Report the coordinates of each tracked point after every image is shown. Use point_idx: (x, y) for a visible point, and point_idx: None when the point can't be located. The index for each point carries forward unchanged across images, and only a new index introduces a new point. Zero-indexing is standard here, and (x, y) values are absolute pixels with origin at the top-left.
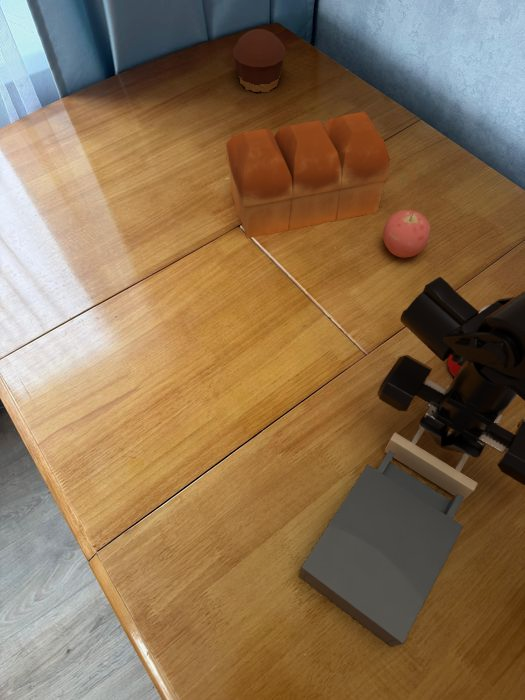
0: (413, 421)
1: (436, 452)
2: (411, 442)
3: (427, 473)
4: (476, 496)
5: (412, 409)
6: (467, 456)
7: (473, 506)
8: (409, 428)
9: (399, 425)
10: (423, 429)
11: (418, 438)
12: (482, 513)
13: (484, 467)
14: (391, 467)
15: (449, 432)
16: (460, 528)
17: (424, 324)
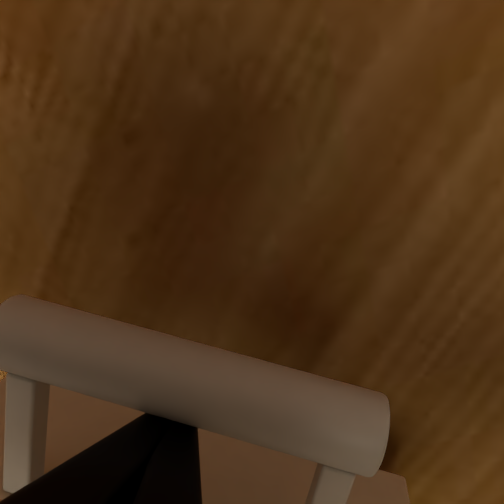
0: (87, 182)
1: (236, 301)
2: (4, 485)
3: None
4: (456, 441)
5: (57, 115)
6: (345, 493)
7: (447, 482)
8: (84, 227)
9: (39, 230)
10: (27, 392)
11: (25, 457)
12: (490, 500)
13: (484, 298)
14: None
15: (179, 376)
16: None
17: None
